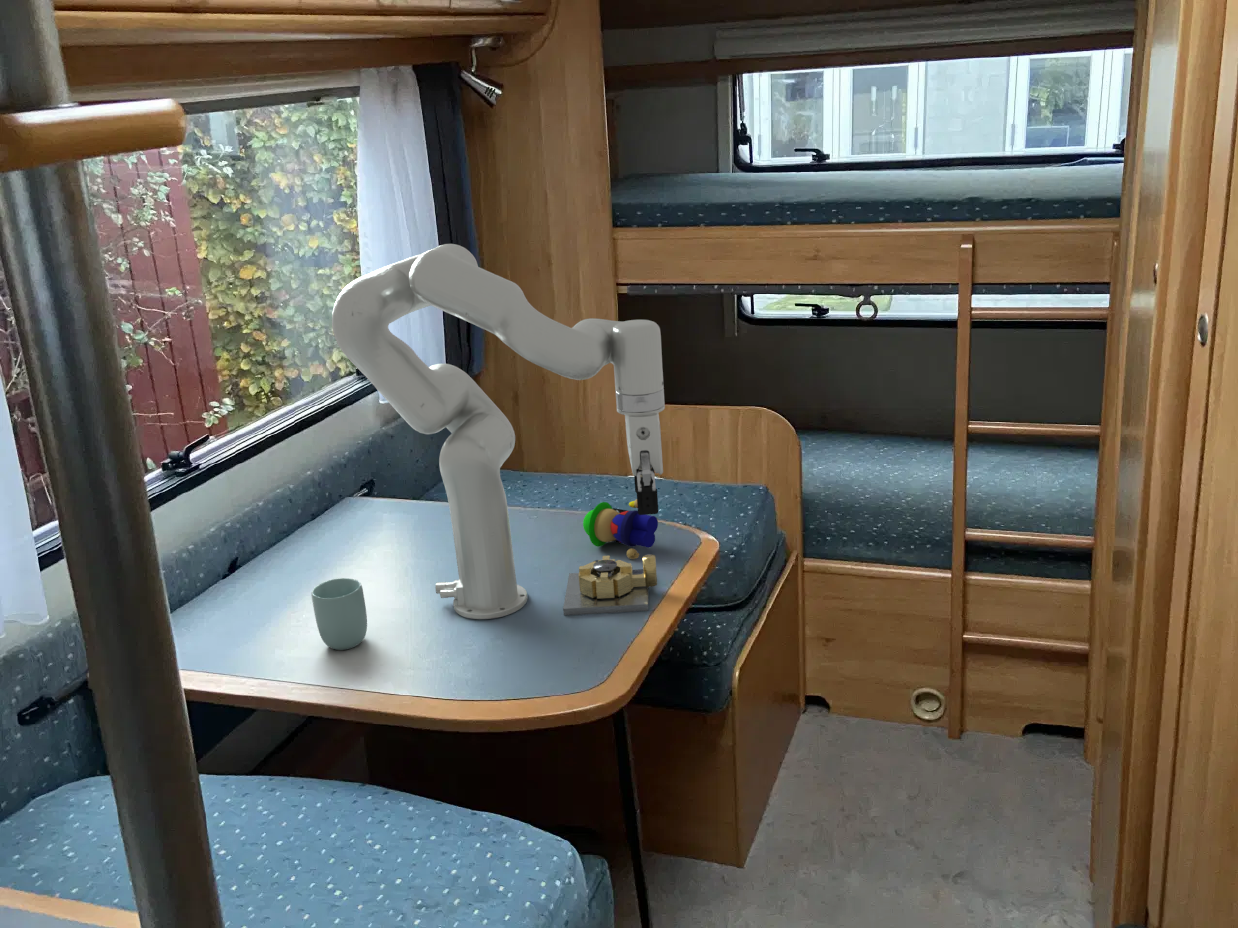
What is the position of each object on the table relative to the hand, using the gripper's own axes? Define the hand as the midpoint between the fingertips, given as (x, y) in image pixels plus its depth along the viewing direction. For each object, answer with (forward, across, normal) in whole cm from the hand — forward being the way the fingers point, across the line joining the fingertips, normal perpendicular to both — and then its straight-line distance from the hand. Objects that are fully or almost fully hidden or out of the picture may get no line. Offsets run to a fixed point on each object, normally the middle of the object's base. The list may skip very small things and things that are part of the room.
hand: (646, 502), depth 180 cm
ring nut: (+17, +6, +5) cm, 19 cm away
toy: (+19, +26, +4) cm, 32 cm away
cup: (+19, -5, +50) cm, 54 cm away
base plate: (+18, +6, +8) cm, 21 cm away
